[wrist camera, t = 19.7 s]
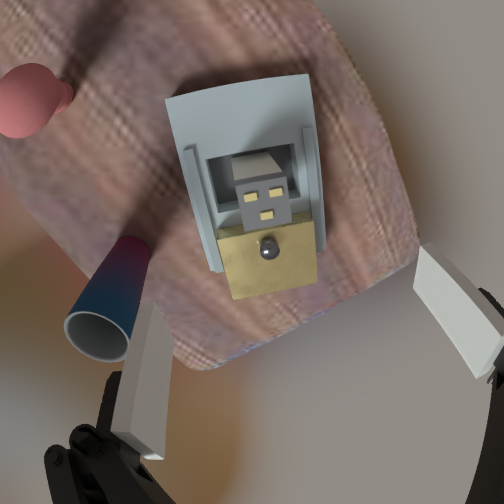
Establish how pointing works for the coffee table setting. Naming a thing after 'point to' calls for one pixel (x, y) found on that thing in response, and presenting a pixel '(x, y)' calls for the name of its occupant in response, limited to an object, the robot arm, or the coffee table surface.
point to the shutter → (269, 256)
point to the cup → (110, 303)
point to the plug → (261, 191)
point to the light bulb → (30, 99)
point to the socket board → (247, 149)
